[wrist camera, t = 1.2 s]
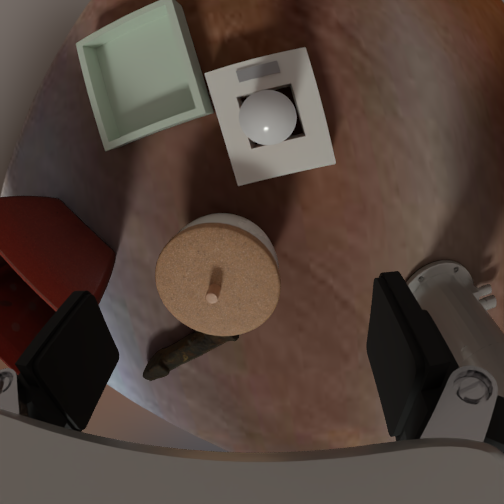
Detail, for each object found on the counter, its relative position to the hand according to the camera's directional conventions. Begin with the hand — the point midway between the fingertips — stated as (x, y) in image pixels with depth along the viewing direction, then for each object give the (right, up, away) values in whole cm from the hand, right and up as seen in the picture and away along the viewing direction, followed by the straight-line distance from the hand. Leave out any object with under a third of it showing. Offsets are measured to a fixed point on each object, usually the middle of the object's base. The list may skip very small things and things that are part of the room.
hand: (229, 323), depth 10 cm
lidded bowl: (-2, +3, +29) cm, 30 cm away
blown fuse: (+3, +17, +22) cm, 28 cm away
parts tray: (-11, +22, +21) cm, 33 cm away
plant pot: (-26, +2, +32) cm, 42 cm away
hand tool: (-9, -12, +37) cm, 40 cm away
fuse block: (+3, +17, +22) cm, 28 cm away
